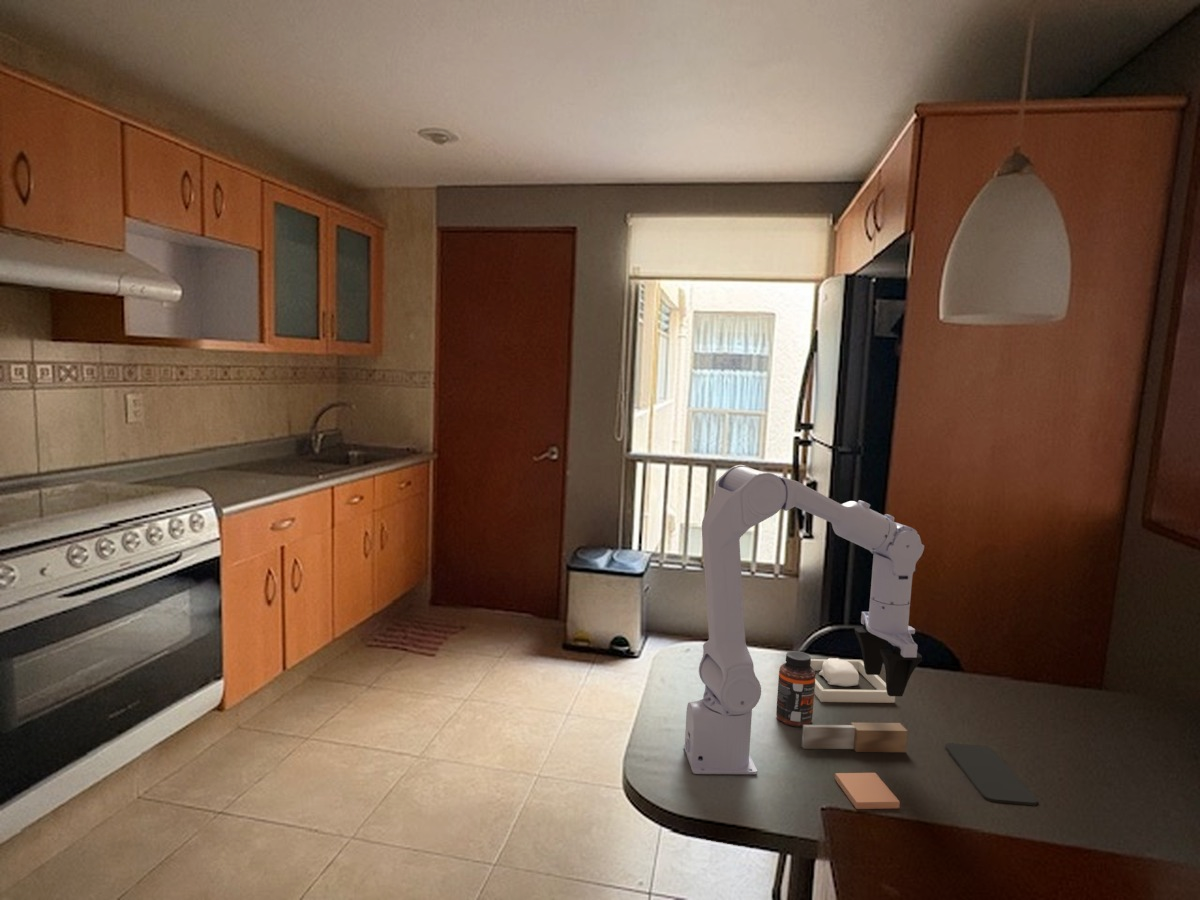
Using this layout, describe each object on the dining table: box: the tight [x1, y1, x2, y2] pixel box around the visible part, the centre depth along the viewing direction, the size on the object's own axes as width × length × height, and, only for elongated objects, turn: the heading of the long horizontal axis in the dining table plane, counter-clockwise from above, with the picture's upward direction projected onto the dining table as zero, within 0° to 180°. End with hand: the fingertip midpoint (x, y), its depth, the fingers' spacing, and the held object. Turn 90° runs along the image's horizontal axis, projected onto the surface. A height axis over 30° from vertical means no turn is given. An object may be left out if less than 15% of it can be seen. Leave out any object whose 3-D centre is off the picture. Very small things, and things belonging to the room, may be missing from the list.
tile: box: [834, 772, 901, 810], centre depth 97 cm, size 6×1×7 cm
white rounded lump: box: [818, 657, 860, 688], centre depth 135 cm, size 8×7×4 cm
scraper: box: [801, 722, 908, 753], centre depth 109 cm, size 16×2×4 cm, turn 93°
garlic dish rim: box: [810, 658, 896, 704], centre depth 132 cm, size 14×15×2 cm
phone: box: [944, 742, 1038, 806], centre depth 103 cm, size 7×1×15 cm
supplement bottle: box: [776, 650, 816, 728], centre depth 117 cm, size 6×6×11 cm
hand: (883, 684), depth 108 cm, fingers open, 7 cm apart
